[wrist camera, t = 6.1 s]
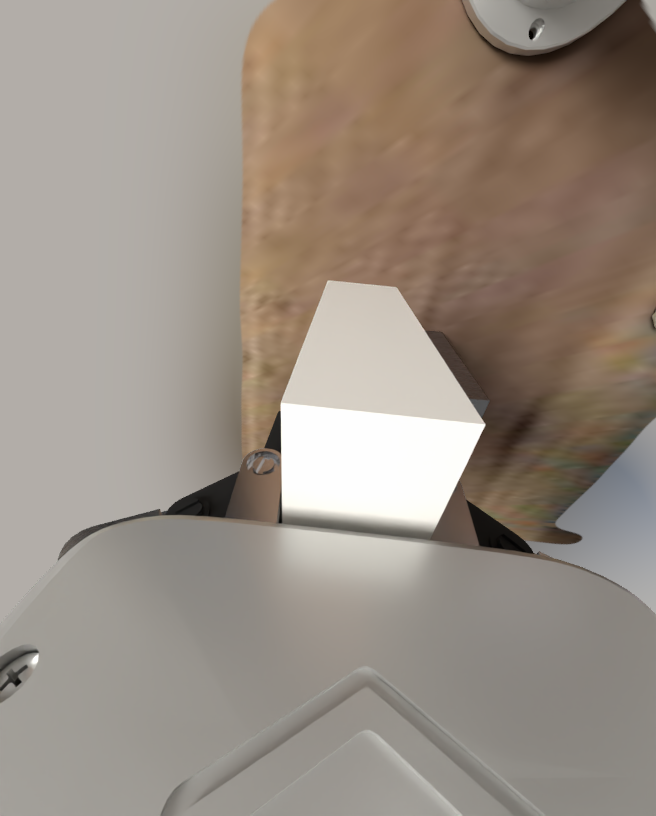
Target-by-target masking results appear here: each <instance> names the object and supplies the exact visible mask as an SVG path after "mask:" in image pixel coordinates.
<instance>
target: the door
mask: <svg viewBox="0 0 656 816" xmlns="http://www.w3.org/2000/svg"><path fill="white" fill-rule="evenodd" d="M484 427H485V423H484V421H483V420H482V418H481V417H480V415H479V414H478V412H477V411H476V409H475V408H474V406H473V405H472V403H471V401H470V400H469V398H468V397H467V395H466V394H465V392H464V391H463V389H462V388H461V386H460V384H459V383H458V381H457V380H456V378H455V377H454V375H453V374H452V372H451V371H450V369H449V368H448V366H447V364H446V363H445V361H444V360H443V358H442V357H441V355H440V354H439V352H438V351H437V349H436V347H435V346H434V344H433V343H432V341H431V340H430V338H429V337H428V335H427V334H426V332H425V331H424V329H423V327H422V326H421V324H420V323H419V321H418V320H417V318H416V317H415V315H414V314H413V312H412V310H411V309H410V307H409V306H408V304H407V303H406V301H405V300H404V298H403V297H402V295H401V294H400V292H399V290H398V289H397V287H388V286H379V285H369V284H359V283H349V282H339V281H329V280H328V282H327V284H326V287H325V289H324V292H323V295H322V297H321V300H320V302H319V305H318V308H317V310H316V313H315V315H314V318H313V321H312V323H311V326H310V328H309V331H308V334H307V336H306V339H305V341H304V344H303V347H302V349H301V352H300V354H299V357H298V359H297V362H296V365H295V367H294V370H293V372H292V375H291V378H290V380H289V383H288V385H287V388H286V391H285V393H284V396H283V398H282V401H281V464H282V524H290V525H299V526H309V527H318V528H327V529H336V530H345V531H354V532H363V533H372V534H381V535H390V536H399V537H407V538H416V539H424V540H430V538H431V536H432V534H433V532H434V530H435V528H436V526H437V524H438V522H439V520H440V518H441V516H442V514H443V511H444V509H445V507H446V505H447V503H448V501H449V499H450V497H451V495H452V493H453V491H454V489H455V487H456V485H457V483H458V480H459V478H460V476H461V474H462V472H463V470H464V468H465V466H466V464H467V462H468V460H469V458H470V456H471V454H472V452H473V450H474V447H475V445H476V443H477V441H478V439H479V437H480V435H481V433H482V431H483V429H484Z"/></svg>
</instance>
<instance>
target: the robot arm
mask: <svg viewBox="0 0 656 816" xmlns="http://www.w3.org/2000/svg"><path fill="white" fill-rule="evenodd" d="M625 1H626V0H462V2H463V4H464V7H465V9H466V12H467V15H468V16H469V18H470V19H471V21H472V23H473V24H474V26H475V27H476V29H477V30H478V32H479V33H480V34H481V35H482V36H483V37H484V38H485V39H486V40H488V41H489V42H490V43H491V44H492V45H493V46H495V47H497V48H499V49H501V50H503V51H506V52H508V53H510V54H517V55H525V56H531V55H537V54H544V53H549V52H552V51H554V50H557V49H559V48H562V47H564V46H567V45H569V44H571V43H572V42H574V41H576V40H577V39H579V38H580V37H582V36H583V35H585V34H587V33H588V32H590V31H591V30H593V29H594V28H595V27H596V26H598V25H599V24H600V23H601V22H603V21H604V20H605V19H607V18H608V17H609V16H610V15H612V14H613V13H614V12H615V11H616V10H617V9H618V8H619V7H620V6H621V5H622V4H623V3H624V2H625ZM529 31H532V32H533V39H532V40H531V39H530V38H529V35H528V34H529ZM0 816H656V614H655V613H654V612H653V611H652V610H651V609H650V608H649V607H648V606H647V605H646V604H645V603H643V602H642V601H641V600H640V599H639V598H638V597H637V596H635V595H634V594H632V593H631V592H630V591H628V590H627V589H625V588H623V587H622V586H620V585H618V584H617V583H615V582H613V581H611V580H609V579H607V578H605V577H604V576H601V575H599V574H596V573H594V572H592V571H589V570H587V569H585V568H583V567H580V566H577V565H574V564H570V563H567V562H564V561H561V560H558V559H554V558H552V557H550V556H548V555H546V554H543V553H541V552H538V553H537V554H535V553H533V551H532V549H531V548H530V547H529V545H528V544H527V543H526V542H525V541H524V540H523V539H521V538H520V537H519V536H518V535H516V534H515V533H514V532H512V531H511V530H509V529H508V528H506V527H505V526H503V525H502V524H501V523H499V522H498V521H496V520H495V519H493V518H492V517H490V516H489V515H488V514H486V513H485V512H483V511H482V510H480V509H479V508H478V507H476V506H475V505H473V504H472V503H470V502H469V501H467V500H466V498H465V495H464V491H463V488H462V485H461V483H460V481H459V480H458V483H457V485H456V487H455V489H454V491H453V493H452V495H451V497H450V499H449V501H448V503H447V505H446V507H445V509H444V511H443V514H442V516H441V518H440V520H439V522H438V524H437V526H436V528H435V530H434V532H433V534H432V536H431V538H430V540H424V539H416V538H407V537H399V536H390V535H381V534H372V533H363V532H354V531H345V530H336V529H327V528H318V527H309V526H299V525H290V524H282V464H281V411H279V412H278V414H277V416H276V419H275V422H274V424H273V427H272V430H271V432H270V435H269V437H268V440H267V443H266V445H265V448H264V449H258V450H254V451H252V452H250V453H249V454H247V455H246V456H245V457H244V459H243V461H242V464H241V467H240V470H239V472H237V473H235V474H232V475H230V476H228V477H226V478H224V479H222V480H220V481H218V482H216V483H213V484H211V485H209V486H207V487H205V488H203V489H201V490H199V491H197V492H195V493H192V494H190V495H188V496H186V497H184V498H182V499H181V500H178V501H177V502H175V503H174V504H173V505H172V506H171V507H170V508H169V509H168V511H164V512H161V511H160V509H157V510H154V511H150V512H146V513H143V514H138V515H135V516H131V517H127V518H123V519H119V520H116V521H112V522H108V523H104V524H100V525H96V526H93V527H90V528H87V529H85V530H82V531H81V532H79V533H78V534H76V535H74V536H73V537H72V538H71V539H70V540H69V541H68V542H67V543H66V544H65V545H64V547H63V548H62V550H61V552H60V555H59V558H58V561H57V562H56V564H55V565H53V567H52V568H50V569H49V570H48V572H46V574H45V575H43V577H42V578H41V579H40V580H39V581H38V582H37V583H36V584H35V585H34V586H33V587H32V588H31V589H30V591H29V592H28V593H27V594H26V595H25V596H24V597H23V598H22V599H21V600H20V602H19V603H18V604H17V605H16V606H15V607H14V608H13V610H12V611H11V612H10V613H9V614H8V615H7V616H6V618H5V619H4V620H3V621H2V622H1V623H0Z"/></svg>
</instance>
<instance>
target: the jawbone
mask: <svg viewBox="0 0 656 816" xmlns="http://www.w3.org/2000/svg"><path fill="white" fill-rule="evenodd" d="M652 318H653V321H654V327H655V328H656V311H655V313H654V314H653V316H652Z"/></svg>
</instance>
